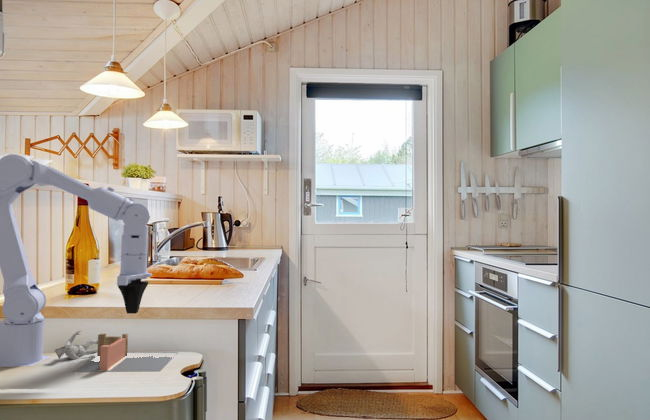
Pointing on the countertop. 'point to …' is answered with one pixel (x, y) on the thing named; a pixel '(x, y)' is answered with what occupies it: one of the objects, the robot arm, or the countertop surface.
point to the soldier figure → (76, 349)
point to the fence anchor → (110, 342)
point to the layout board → (129, 364)
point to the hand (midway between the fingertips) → (132, 313)
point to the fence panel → (112, 353)
